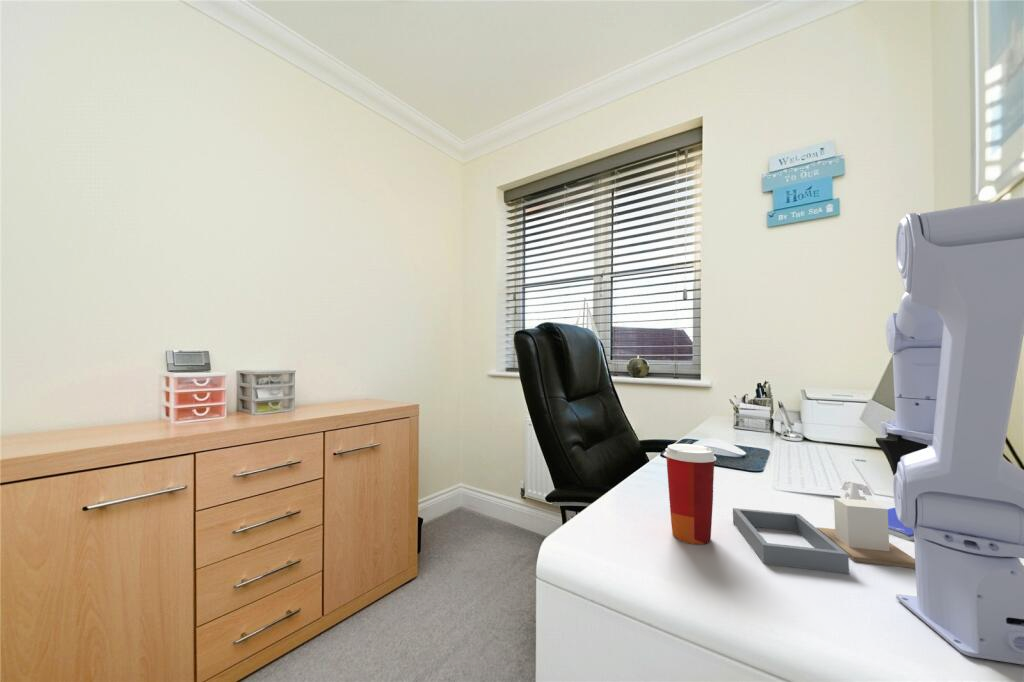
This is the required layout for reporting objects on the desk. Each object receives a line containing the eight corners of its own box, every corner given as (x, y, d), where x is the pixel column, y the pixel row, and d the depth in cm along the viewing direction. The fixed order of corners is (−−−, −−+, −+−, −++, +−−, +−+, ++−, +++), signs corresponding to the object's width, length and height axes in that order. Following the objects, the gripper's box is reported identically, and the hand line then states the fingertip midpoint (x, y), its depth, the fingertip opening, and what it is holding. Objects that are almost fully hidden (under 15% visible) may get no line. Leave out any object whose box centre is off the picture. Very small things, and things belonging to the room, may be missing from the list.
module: (889, 551, 56) (887, 509, 56) (848, 547, 57) (847, 505, 58) (873, 540, 59) (871, 500, 60) (835, 536, 61) (833, 497, 61)
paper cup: (712, 529, 64) (710, 444, 65) (723, 551, 57) (721, 455, 58) (662, 523, 67) (660, 441, 67) (667, 544, 59) (665, 451, 60)
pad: (923, 569, 52) (923, 564, 52) (853, 561, 54) (853, 556, 54) (875, 536, 62) (874, 532, 62) (816, 531, 64) (816, 527, 64)
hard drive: (908, 534, 61) (954, 524, 65) (849, 514, 69) (893, 506, 73) (909, 544, 61) (955, 533, 65) (849, 523, 69) (894, 514, 72)
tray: (849, 573, 51) (848, 554, 51) (763, 563, 54) (763, 544, 54) (799, 529, 65) (799, 514, 65) (733, 522, 67) (732, 508, 67)
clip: (873, 504, 76) (872, 485, 76) (870, 506, 75) (869, 486, 75) (841, 497, 80) (840, 478, 81) (837, 498, 79) (837, 480, 80)
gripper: (857, 393, 62) (860, 479, 61) (928, 402, 48) (934, 513, 47) (911, 394, 60) (915, 482, 60) (1001, 404, 46) (1008, 520, 46)
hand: (927, 497), depth 53 cm, fingers open, 7 cm apart
